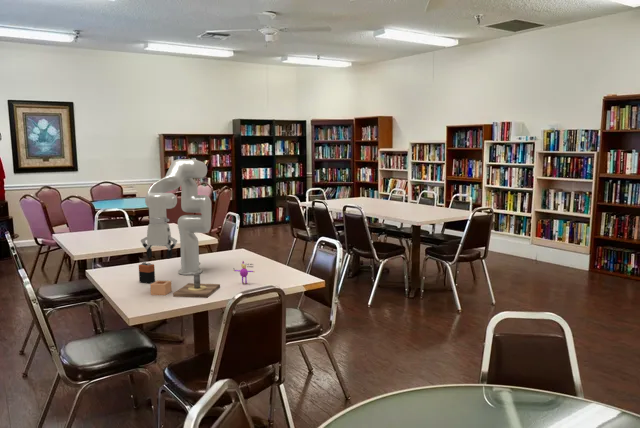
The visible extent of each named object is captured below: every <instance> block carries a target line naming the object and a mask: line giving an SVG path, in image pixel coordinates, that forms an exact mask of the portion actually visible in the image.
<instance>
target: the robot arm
mask: <svg viewBox="0 0 640 428" xmlns="http://www.w3.org/2000/svg"><path fill="white" fill-rule="evenodd" d="M207 173H208V167H207V165H206V163H205V162H203V161H201V160H198V159H194V158H193V159H191V158H190V159H189V158H187V159H185V158H184V159H183V158H181V159H180V158H179V159H175V160H173V161H172V162H171V164H170V166H169V168H168V170H167V172H166V173H165V176H164V177H162V178H160V179H159V180H158V181H156V182H154V183H153V184H152V185H151V186H150V187H149V188H148V190H147V192H146V195H145V199H144V201H145V202H144V203H145V205H146V207H147V208H148V215H149V216H148V217H149V224H148V225H147V232H146V236H145V237H144V238H142V239H141V240H140V242H141V244H142V246H143V247H144V248H145V250H146V257H147V259H150V258H152V257H153V252H152V251H153V250H152V247H153V246H154V247H165V248H166V249H167V250H166V258H167V259H168V260H169V259H172V257H173V249H174V248H175V247H176V245H177V242H178V239H176V238H173V237H172V233H171V228H170V224H169V223H168V222H170V218H168V217H167V210H169V209H170V210H171V209H174V208H175V207H176V206H177V203H178V198H177V195H176V194H174V193H173V192H171V191H174V190H177V189H179V188H180V187H181V196H180V197H181V199H180V200H181V201H180V204H181V205H180V206H181V210H182V211H183V212H185V213H191V214H184V215H181V216H180V217H179V218H178V219H177V229H178V232H179V241H180V243H179V244H180V268H181V269H179V270H178V274H179V275H183V276H191V275H193V276H194V274H196V273H198V274H202V273H203V269H202V268H200V265H201V262H200V253H199V252H200V251H199V250H200V249H199V239H198V237H197V235H196V234H198V233H199V234H200V233H201V234H202V233H203V234H206V233H209V232H210V230H211V228H212V227H211V226H212V200H211V198H210V196H208V195H206V194H199V193H198V191H199V189H198V188H199V187H198V183H197V182H196V181H195V179H203V178H205V177H206V176H207ZM192 213H193V214H192ZM194 213H199V214H194Z"/></svg>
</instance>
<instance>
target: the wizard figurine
mask: <svg viewBox="0 0 640 428" xmlns="http://www.w3.org/2000/svg"><path fill="white" fill-rule="evenodd" d="M240 265H241V269H236V270H235V269H233V270H232V271H233V272H239V274H240V276H241V284H245V285H248V280H247V276H248V274H249V273H255V270H248V269H247V268H254V265H253V263H250V265H248V264H247V263H245V262H244V260H242V261H241V263H240ZM244 279H245V281H244ZM244 282H245V283H244Z"/></svg>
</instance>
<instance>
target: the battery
mask: <svg viewBox="0 0 640 428" xmlns="http://www.w3.org/2000/svg"><path fill="white" fill-rule="evenodd" d="M155 272H156V271H155V264H154V263H152V262H151V263H150V262H148V263H147V262H146V261H143V262H141V264H138V277H139V278H138V280H139V283H142V284H149V285H150V284H152V283H154V282H155V281H156V276H155V275H156V273H155Z"/></svg>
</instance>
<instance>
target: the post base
mask: <svg viewBox="0 0 640 428" xmlns="http://www.w3.org/2000/svg"><path fill="white" fill-rule="evenodd" d="M220 288H221V284H220V283H201V273H199V274H198V273H196V274H194V275H193V283H191V282H189V283H187V284H185V285H184V286H182V287H180V288H179V289H178V290H175V291H174V292H173V293H172V294H173V295H172V297H175V298H202V299H203V298H204V299H206V298H208V297H210V296H211V295H212V294H213V293H215V292H216V291H217V290H219V289H220Z"/></svg>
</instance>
